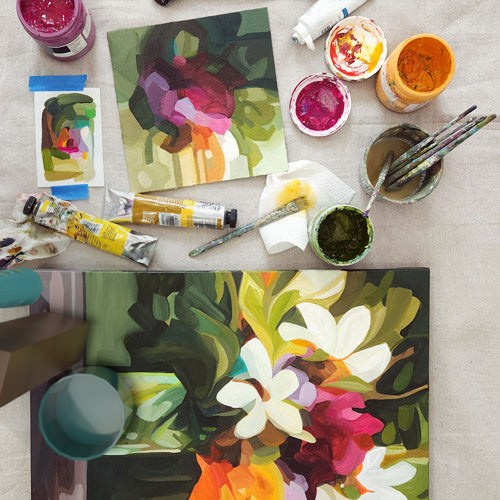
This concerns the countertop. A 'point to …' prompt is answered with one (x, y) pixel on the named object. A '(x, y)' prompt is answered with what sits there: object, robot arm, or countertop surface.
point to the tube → (19, 287)
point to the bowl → (86, 412)
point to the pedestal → (37, 351)
